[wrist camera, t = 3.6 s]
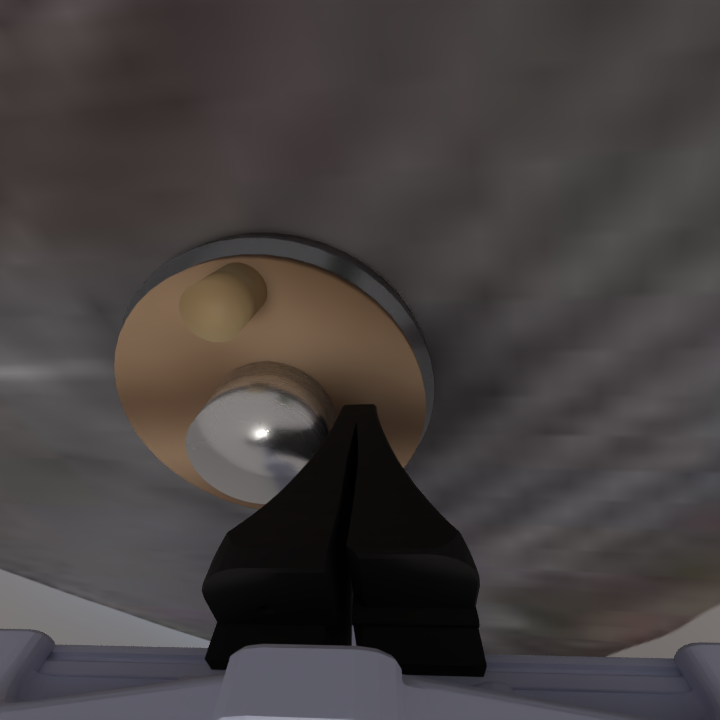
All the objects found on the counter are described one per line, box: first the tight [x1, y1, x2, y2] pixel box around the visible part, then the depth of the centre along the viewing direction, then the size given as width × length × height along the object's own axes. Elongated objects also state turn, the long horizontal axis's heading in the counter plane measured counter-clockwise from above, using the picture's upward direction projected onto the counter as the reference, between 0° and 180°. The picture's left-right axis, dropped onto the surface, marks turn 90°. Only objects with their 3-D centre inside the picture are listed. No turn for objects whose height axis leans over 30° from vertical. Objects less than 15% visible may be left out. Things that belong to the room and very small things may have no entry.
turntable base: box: [120, 233, 435, 447], centre depth 16 cm, size 14×14×1 cm
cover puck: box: [186, 361, 334, 504], centre depth 13 cm, size 5×5×3 cm
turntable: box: [114, 254, 426, 509], centre depth 13 cm, size 13×13×3 cm
